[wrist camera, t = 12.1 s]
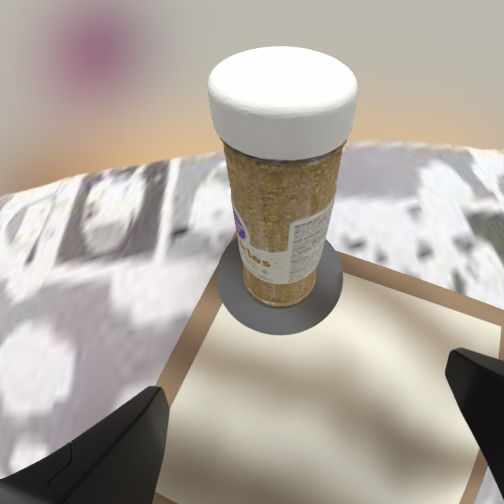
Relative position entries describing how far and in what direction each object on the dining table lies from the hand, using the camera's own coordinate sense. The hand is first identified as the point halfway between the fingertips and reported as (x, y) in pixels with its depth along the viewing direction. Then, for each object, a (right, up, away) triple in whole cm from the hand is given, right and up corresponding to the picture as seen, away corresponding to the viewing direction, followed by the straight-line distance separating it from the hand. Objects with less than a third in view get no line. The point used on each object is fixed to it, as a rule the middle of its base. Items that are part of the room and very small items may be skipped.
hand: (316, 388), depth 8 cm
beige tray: (+4, -6, +7) cm, 10 cm away
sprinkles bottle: (0, +2, +11) cm, 12 cm away
